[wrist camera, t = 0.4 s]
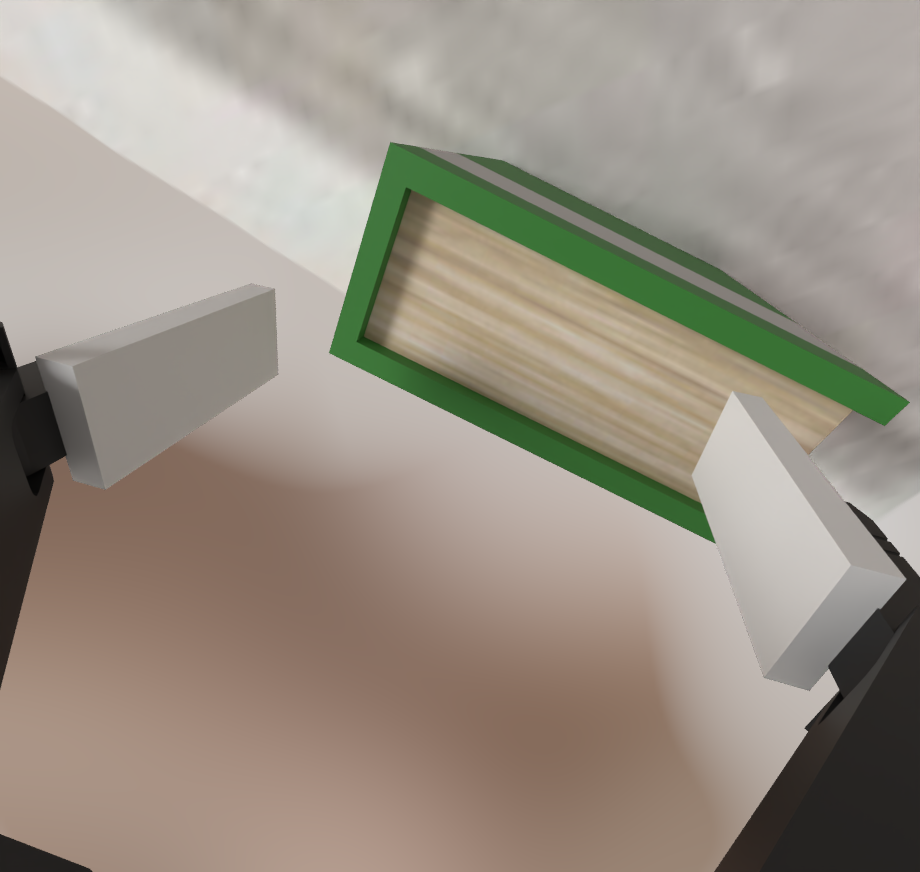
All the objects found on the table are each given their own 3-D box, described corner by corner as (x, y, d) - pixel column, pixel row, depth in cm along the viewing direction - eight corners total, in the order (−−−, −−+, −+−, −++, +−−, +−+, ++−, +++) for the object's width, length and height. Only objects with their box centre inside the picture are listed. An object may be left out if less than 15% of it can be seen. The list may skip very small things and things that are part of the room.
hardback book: (719, 269, 35) (909, 402, 15) (659, 355, 39) (744, 557, 19) (502, 160, 35) (390, 142, 15) (462, 258, 39) (328, 352, 18)
